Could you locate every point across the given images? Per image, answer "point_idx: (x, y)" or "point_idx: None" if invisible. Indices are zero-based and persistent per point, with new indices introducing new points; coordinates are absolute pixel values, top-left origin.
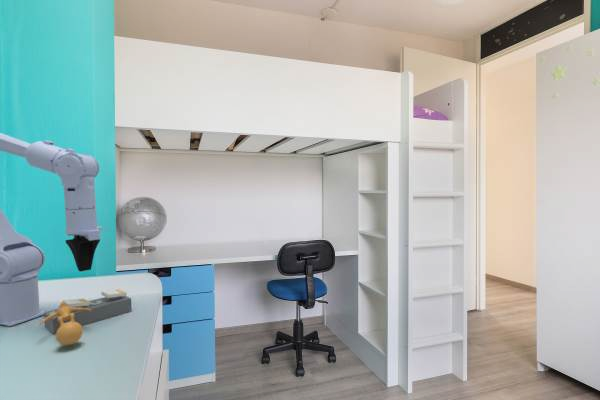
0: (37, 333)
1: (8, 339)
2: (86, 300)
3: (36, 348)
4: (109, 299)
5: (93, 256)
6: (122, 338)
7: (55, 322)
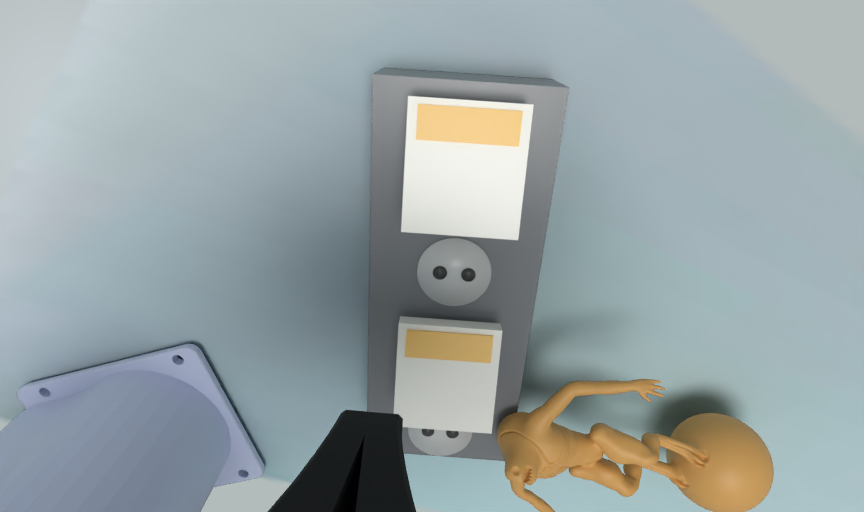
0: None
1: None
2: (462, 335)
3: None
4: None
5: (414, 509)
6: (840, 289)
7: None
